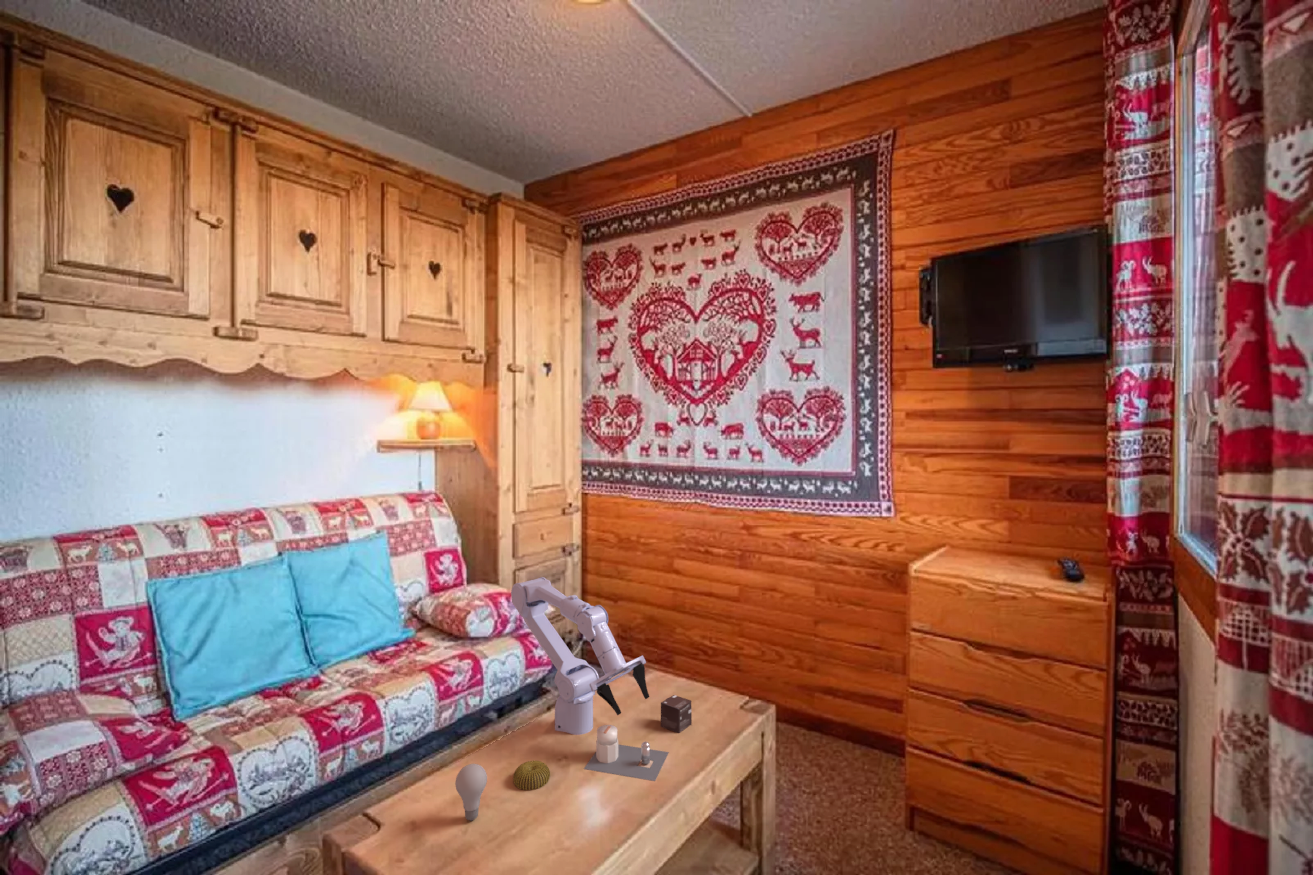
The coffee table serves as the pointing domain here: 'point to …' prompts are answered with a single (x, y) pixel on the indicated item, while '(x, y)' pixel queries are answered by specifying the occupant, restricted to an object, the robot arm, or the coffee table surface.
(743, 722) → the coffee table surface
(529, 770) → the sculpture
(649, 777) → the board
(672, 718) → the box
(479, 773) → the lightbulb
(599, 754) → the knob
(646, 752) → the post
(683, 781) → the coffee table surface
